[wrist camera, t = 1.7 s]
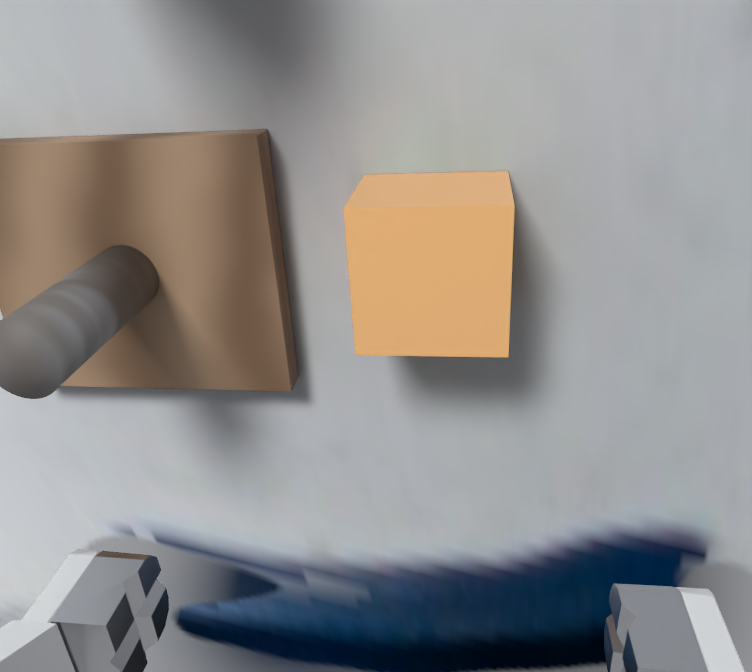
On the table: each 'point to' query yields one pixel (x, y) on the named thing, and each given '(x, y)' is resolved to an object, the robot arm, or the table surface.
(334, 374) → the table surface
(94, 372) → the post board
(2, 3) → the table surface
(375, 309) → the peach wooden cube
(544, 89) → the table surface
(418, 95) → the table surface
